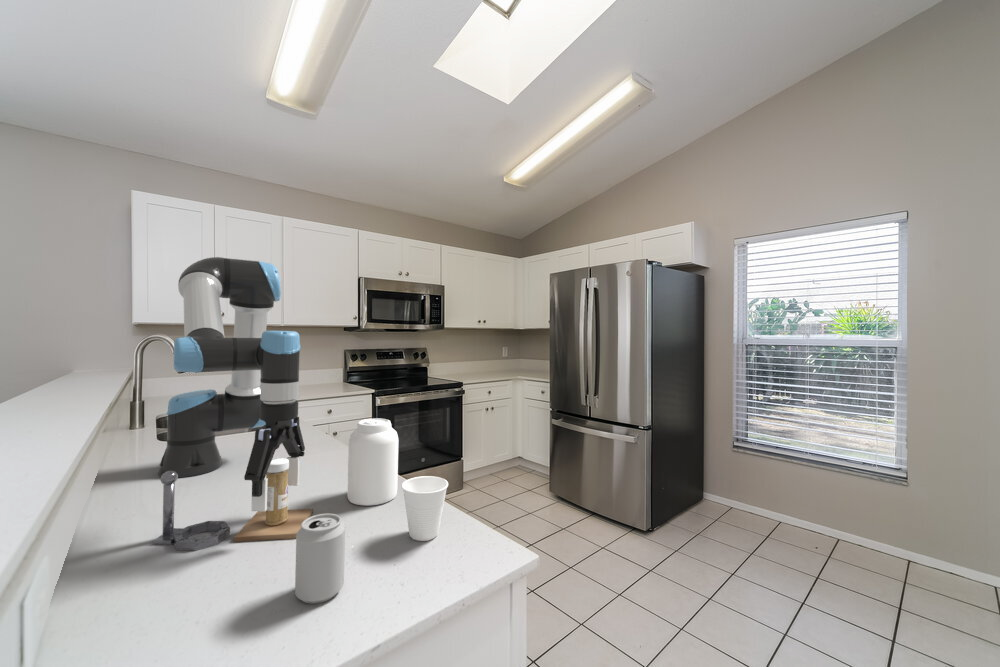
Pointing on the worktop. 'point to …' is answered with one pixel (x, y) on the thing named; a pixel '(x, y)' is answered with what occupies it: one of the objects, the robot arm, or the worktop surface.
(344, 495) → the worktop surface
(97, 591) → the worktop surface
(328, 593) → the can
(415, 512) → the cup
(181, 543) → the ring stand
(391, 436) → the white jar
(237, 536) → the coaster
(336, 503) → the worktop surface
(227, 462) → the worktop surface
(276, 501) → the sprinkles bottle
